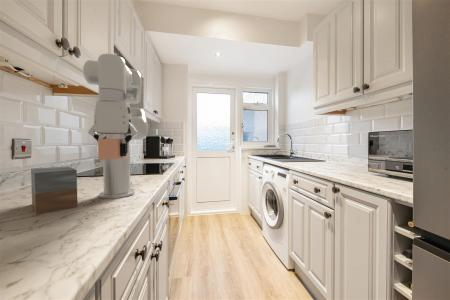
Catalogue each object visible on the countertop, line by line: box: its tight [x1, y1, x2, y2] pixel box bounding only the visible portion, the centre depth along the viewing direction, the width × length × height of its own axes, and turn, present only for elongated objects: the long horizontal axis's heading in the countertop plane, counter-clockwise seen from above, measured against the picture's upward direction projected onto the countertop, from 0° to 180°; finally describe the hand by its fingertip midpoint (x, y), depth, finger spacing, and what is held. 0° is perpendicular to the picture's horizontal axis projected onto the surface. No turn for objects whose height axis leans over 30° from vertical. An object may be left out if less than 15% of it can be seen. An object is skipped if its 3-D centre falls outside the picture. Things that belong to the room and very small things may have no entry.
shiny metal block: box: [30, 166, 79, 215], centre depth 68 cm, size 14×10×12 cm
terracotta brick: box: [97, 139, 127, 160], centre depth 65 cm, size 8×5×6 cm, turn 3°
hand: (114, 155), depth 65 cm, fingers closed on terracotta brick, 5 cm apart
